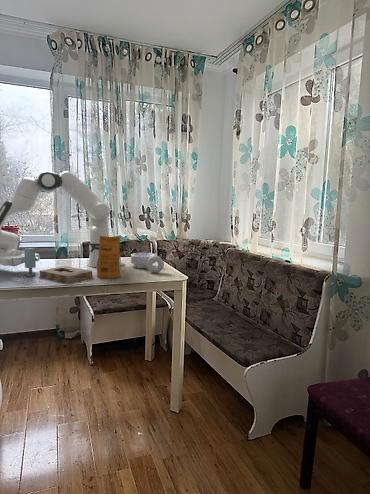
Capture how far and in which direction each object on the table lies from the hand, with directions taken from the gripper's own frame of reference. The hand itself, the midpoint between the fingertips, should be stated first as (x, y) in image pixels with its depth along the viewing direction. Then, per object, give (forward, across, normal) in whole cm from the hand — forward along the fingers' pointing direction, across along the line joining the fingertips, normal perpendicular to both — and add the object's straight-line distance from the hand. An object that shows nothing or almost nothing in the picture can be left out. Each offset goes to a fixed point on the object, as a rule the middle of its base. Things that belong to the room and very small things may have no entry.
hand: (29, 260), depth 174 cm
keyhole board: (+17, +9, +8) cm, 21 cm away
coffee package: (+33, +24, +8) cm, 41 cm away
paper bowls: (+31, +56, +8) cm, 65 cm away
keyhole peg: (+1, 0, +8) cm, 8 cm away
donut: (+47, +47, +8) cm, 67 cm away
